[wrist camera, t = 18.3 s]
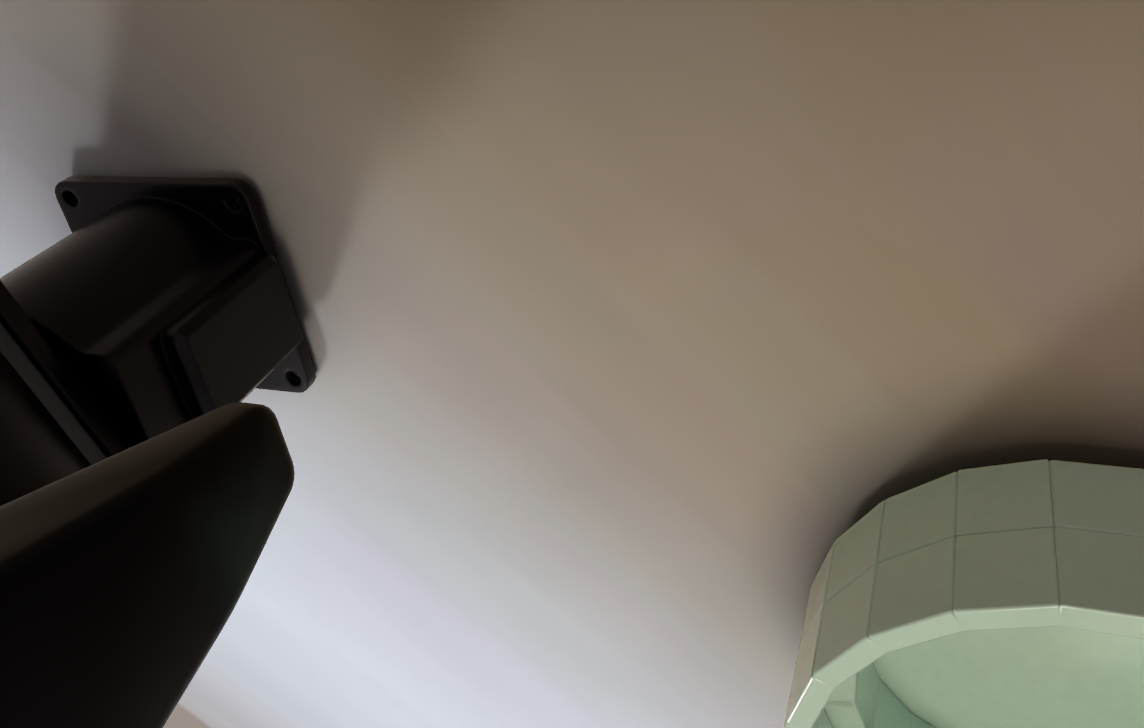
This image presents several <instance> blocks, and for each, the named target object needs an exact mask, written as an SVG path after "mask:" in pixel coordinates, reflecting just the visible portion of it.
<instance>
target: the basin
mask: <svg viewBox="0 0 1144 728" xmlns="http://www.w3.org/2000/svg"><path fill="white" fill-rule="evenodd" d="M785 728H1144V469H1140V468H1130V467H1120V466H1110V465H1100V464H1090V463H1080V462H1070V461H1060V460H1050V461H1048V459H1042V460H1034V461H1026V462H1018V463H1010V464H1002V465H994V466H986V467H978V468H970V469H962V470H958V472H952V473H950V474H947V475H945V476H942V477H940V478H937V479H935V480H932V481H930V482H927V483H925V484H922V485H920V486H917V487H915V488H912V489H909V490H907V491H904V492H902V493H899V494H897V495H894V496H892V497H889V498H887V499H886V500H883V501H882V502H880V503H879V504H878V505H877V506H876V507H874V508H873V509H872V510H871V511H870V512H868V513H867V514H866V515H865V516H864V517H862V518H861V519H860V520H859V521H857V522H856V523H855V524H854V525H853V526H851V527H850V528H849V529H848V530H847V531H845V532H844V533H843V534H842V535H841V536H839V537H838V538H837V539H836V541H835V542H834V543H833V544H832V546H831V548H830V550H829V552H828V554H827V556H826V558H825V560H824V562H823V564H822V566H821V568H820V570H819V572H818V574H817V576H816V578H815V580H814V582H813V584H812V586H811V589H810V593H809V598H808V604H807V609H806V614H805V620H804V625H803V630H802V635H801V641H800V646H799V652H798V656H797V661H796V666H795V672H794V677H793V682H792V687H791V693H790V698H789V703H788V708H787V714H786V719H785Z"/></svg>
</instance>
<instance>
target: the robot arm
mask: <svg viewBox="0 0 1144 728" xmlns="http://www.w3.org/2000/svg"><path fill="white" fill-rule="evenodd" d="M55 194H56V197H57V200H58V202H59V204H60V207H61V209H62V211H63V213H64V216H65V218H66V220H67V222H68V225H69V227H70V229H71V231H72V234H70V235H69V236H67V237H65V238H64V239H62V240H61V241H59V242H57V243H56V244H54V245H53V246H51V247H49V248H48V249H46V250H45V251H43V252H41V253H40V254H38V255H37V256H35V257H33V258H32V259H30V260H29V261H27V262H25V263H24V264H22V265H21V266H19V267H17V268H16V269H14V270H13V271H11V272H9V273H8V274H6V275H5V276H3V277H1V278H0V728H163V726H164V725H165V723H166V721H167V720H168V718H169V716H170V715H171V713H172V711H173V710H174V708H175V706H176V705H177V703H178V702H179V700H180V698H181V697H182V695H183V693H184V692H185V690H186V688H187V687H188V685H189V683H190V682H191V680H192V678H193V677H194V675H195V673H196V672H197V670H198V668H199V667H200V665H201V663H202V662H203V660H204V659H205V657H206V655H207V654H208V652H209V650H210V649H211V647H212V645H213V644H214V642H215V640H216V639H217V637H218V635H219V634H220V632H221V630H222V629H223V627H224V625H225V623H226V622H227V620H228V618H229V616H230V615H231V613H232V611H233V609H234V607H235V605H236V603H237V601H238V599H239V598H240V596H241V594H242V592H243V590H244V587H245V585H246V583H247V581H248V579H249V577H250V575H251V573H252V571H253V569H254V567H255V565H256V562H257V560H258V558H259V556H260V554H261V552H262V550H263V548H264V546H265V544H266V542H267V539H268V537H269V535H270V533H271V531H272V529H273V527H274V525H275V523H276V521H277V519H278V516H279V514H280V512H281V510H282V508H283V506H284V504H285V502H286V500H287V498H288V496H289V493H290V491H291V489H292V486H293V481H294V466H293V462H292V459H291V457H290V454H289V451H288V448H287V446H286V443H285V440H284V437H283V435H282V432H281V429H280V426H279V424H278V421H277V418H276V416H275V414H274V413H273V412H272V411H271V410H270V408H268V407H266V406H264V405H259V404H250V403H241V402H242V401H243V400H244V399H245V398H246V397H247V396H248V395H249V394H250V393H251V392H252V391H253V390H254V389H255V388H259V389H269V390H279V391H289V392H304V391H305V390H307V389H308V388H309V387H310V385H311V384H312V383H313V382H314V381H315V378H316V375H315V370H314V367H313V364H312V361H311V358H310V355H309V352H308V349H307V346H306V343H305V339H304V336H303V333H302V330H301V327H300V324H299V321H298V318H297V315H296V312H295V309H294V306H293V303H292V300H291V296H290V293H289V290H288V287H287V284H286V281H285V278H284V275H283V272H282V269H281V266H280V263H279V260H278V257H277V254H276V250H275V247H274V244H273V241H272V238H271V235H270V232H269V229H268V226H267V223H266V220H265V217H264V214H263V211H262V207H261V204H260V201H259V198H258V196H257V194H256V192H255V190H254V189H253V188H252V187H251V185H250V184H248V183H247V182H245V181H243V180H240V179H232V178H169V177H105V176H72V177H68V178H67V179H65V180H63V181H61V182H59V183H58V184H57V185H56V187H55ZM234 195H235V196H236V197H238V198H239V200H240V202H241V204H240V203H239V202H237V201H236V199H235V197H234ZM295 373H296V374H297V375H296V374H295ZM298 375H299V376H298Z"/></svg>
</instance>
